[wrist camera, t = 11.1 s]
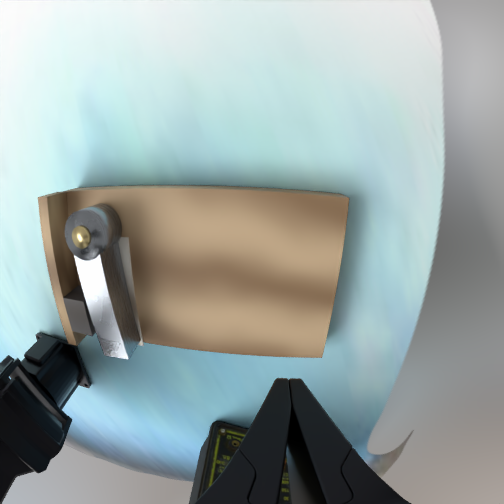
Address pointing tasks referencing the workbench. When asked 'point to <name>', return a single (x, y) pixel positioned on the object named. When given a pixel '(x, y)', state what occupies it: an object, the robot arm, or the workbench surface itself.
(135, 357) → the workbench surface
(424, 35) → the workbench surface
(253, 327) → the door board
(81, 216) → the bar
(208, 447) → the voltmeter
